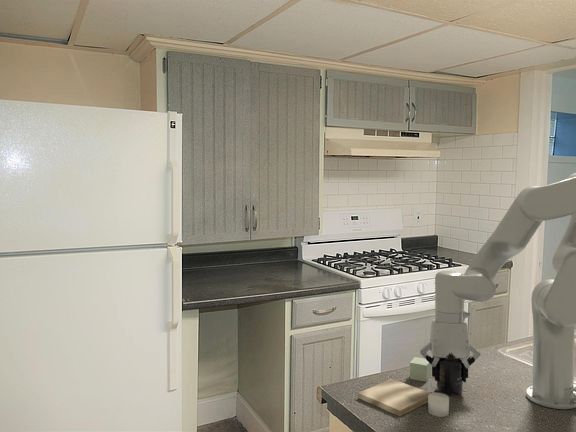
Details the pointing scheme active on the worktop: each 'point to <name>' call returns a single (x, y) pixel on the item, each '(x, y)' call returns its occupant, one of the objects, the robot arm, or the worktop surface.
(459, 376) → the supplement bottle
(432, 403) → the white rounded lump
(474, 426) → the worktop surface
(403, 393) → the birch board
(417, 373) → the sage block
